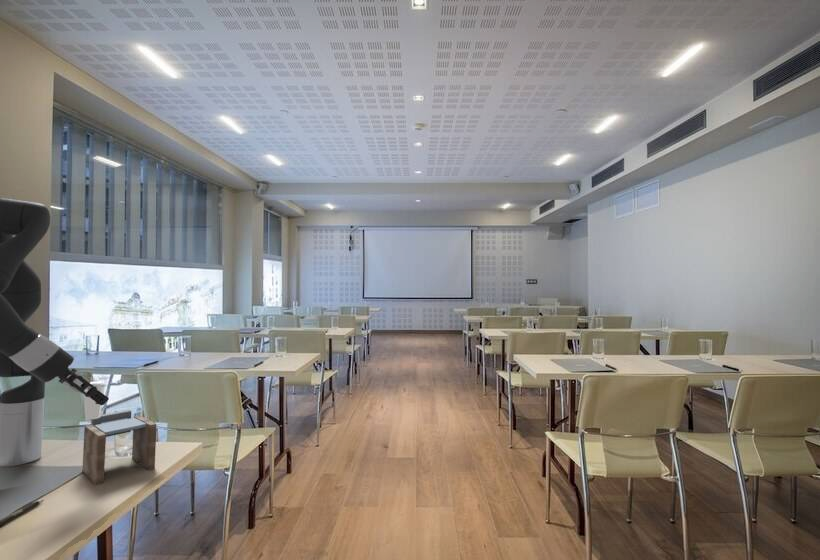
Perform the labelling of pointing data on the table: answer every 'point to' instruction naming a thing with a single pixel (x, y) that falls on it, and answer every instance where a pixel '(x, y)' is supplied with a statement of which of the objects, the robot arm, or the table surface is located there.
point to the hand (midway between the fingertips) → (102, 400)
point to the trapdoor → (117, 423)
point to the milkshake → (93, 402)
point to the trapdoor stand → (97, 440)
